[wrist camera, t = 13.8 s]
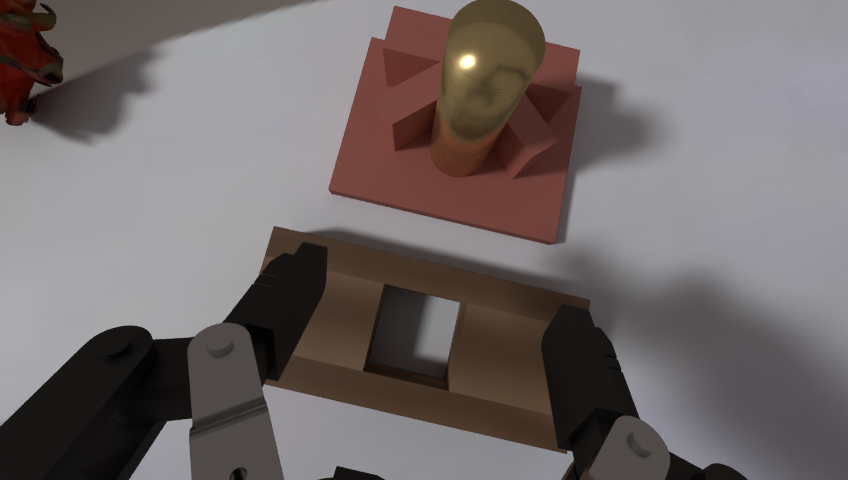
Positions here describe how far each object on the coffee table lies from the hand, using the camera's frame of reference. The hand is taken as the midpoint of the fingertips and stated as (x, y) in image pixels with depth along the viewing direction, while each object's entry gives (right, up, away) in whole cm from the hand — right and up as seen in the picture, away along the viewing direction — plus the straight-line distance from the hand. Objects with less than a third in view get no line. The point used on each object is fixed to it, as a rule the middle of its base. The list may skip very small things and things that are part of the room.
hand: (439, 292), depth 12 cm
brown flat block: (-1, -4, +12) cm, 13 cm away
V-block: (+2, +8, +14) cm, 16 cm away
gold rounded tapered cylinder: (+2, +8, +13) cm, 16 cm away
